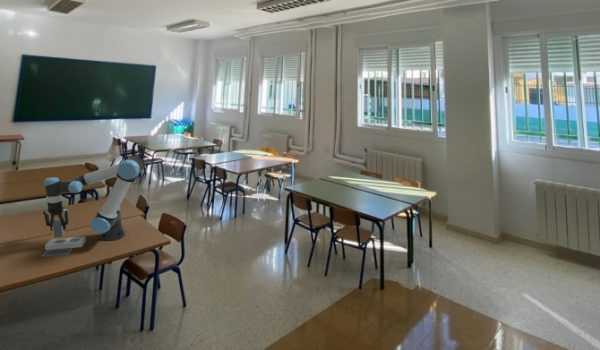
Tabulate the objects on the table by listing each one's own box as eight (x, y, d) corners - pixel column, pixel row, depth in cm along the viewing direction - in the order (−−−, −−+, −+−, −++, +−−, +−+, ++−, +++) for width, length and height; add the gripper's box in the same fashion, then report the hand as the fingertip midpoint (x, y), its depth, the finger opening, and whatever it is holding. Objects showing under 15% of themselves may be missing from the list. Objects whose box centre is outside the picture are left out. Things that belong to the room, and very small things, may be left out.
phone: (46, 252, 201) (46, 250, 201) (72, 250, 206) (72, 248, 205) (41, 257, 195) (41, 256, 195) (68, 255, 199) (67, 253, 199)
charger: (64, 234, 210) (62, 220, 208) (62, 236, 206) (60, 222, 204) (56, 234, 208) (54, 220, 206) (54, 237, 205) (52, 223, 202)
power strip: (85, 241, 217) (85, 235, 216) (81, 246, 209) (81, 241, 208) (51, 244, 211) (50, 238, 210) (45, 250, 203) (44, 244, 202)
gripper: (72, 198, 208) (76, 231, 213) (40, 200, 202) (45, 233, 208) (68, 202, 201) (72, 235, 206) (35, 204, 195) (40, 238, 201)
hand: (59, 234), depth 207 cm, fingers closed on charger, 4 cm apart
